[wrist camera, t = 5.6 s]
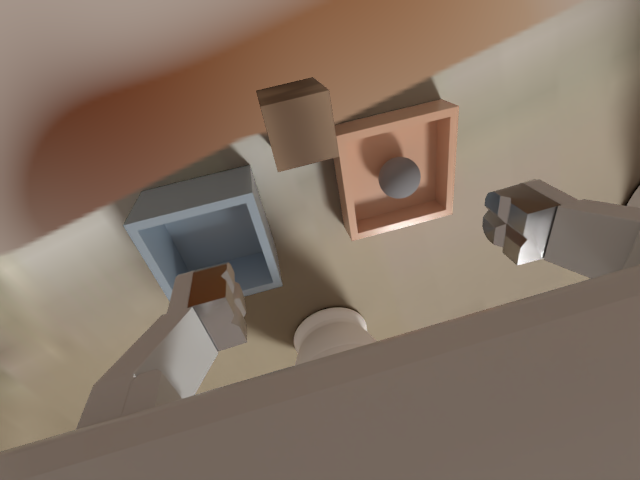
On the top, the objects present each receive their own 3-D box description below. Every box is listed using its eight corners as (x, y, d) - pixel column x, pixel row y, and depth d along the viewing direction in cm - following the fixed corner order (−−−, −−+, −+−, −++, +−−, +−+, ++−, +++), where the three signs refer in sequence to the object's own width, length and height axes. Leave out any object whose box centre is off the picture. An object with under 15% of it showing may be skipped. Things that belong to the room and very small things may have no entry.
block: (312, 77, 23) (329, 90, 19) (322, 134, 26) (339, 156, 21) (256, 90, 23) (260, 106, 19) (271, 147, 25) (278, 172, 21)
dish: (441, 99, 26) (458, 105, 24) (438, 201, 31) (452, 214, 29) (328, 126, 25) (336, 136, 23) (344, 226, 30) (351, 241, 28)
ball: (409, 146, 27) (428, 160, 24) (410, 183, 29) (427, 199, 26) (371, 156, 27) (386, 171, 24) (374, 192, 28) (388, 210, 26)
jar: (273, 313, 34) (293, 477, 22) (369, 286, 35) (441, 430, 23) (295, 373, 40) (321, 528, 28) (377, 349, 41) (437, 490, 29)
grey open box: (249, 164, 26) (252, 192, 21) (276, 249, 30) (282, 286, 26) (141, 191, 25) (122, 225, 21) (185, 273, 30) (177, 314, 26)
